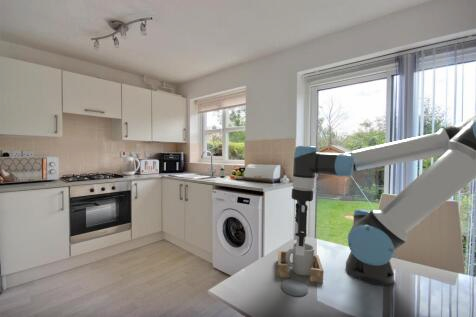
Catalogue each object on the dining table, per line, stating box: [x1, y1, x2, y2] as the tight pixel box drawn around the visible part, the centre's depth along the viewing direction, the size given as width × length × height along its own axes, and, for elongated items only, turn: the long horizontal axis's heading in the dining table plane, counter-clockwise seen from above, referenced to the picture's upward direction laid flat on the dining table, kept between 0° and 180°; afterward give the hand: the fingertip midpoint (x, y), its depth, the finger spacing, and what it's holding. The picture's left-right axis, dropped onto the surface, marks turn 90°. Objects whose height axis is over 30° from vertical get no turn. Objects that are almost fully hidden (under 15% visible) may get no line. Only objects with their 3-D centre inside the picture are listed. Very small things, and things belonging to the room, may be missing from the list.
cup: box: [285, 242, 315, 277], centre depth 83 cm, size 7×10×9 cm
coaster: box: [281, 279, 309, 297], centre depth 72 cm, size 8×8×1 cm
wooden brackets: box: [276, 250, 325, 284], centre depth 83 cm, size 15×12×4 cm
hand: (298, 246), depth 83 cm, fingers open, 13 cm apart
